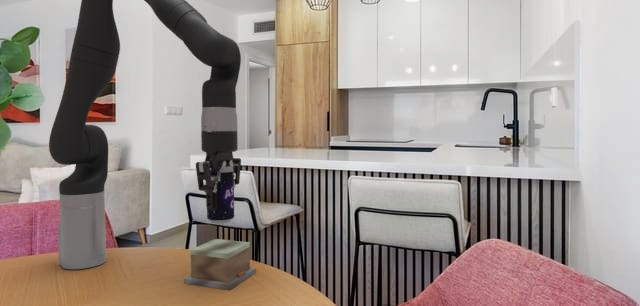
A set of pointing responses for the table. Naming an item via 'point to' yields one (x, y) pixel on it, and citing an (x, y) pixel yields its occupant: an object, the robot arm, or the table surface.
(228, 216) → the beverage can
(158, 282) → the table surface
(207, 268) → the block
